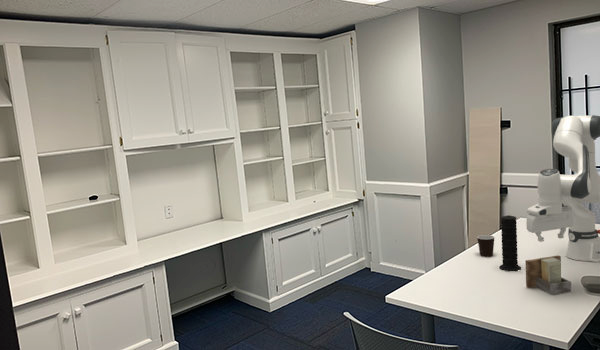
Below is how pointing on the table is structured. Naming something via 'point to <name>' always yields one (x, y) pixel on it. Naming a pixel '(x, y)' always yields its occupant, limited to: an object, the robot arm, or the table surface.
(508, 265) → the handle grip
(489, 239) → the coffee mug
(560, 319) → the table surface
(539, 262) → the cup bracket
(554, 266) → the skincare box
